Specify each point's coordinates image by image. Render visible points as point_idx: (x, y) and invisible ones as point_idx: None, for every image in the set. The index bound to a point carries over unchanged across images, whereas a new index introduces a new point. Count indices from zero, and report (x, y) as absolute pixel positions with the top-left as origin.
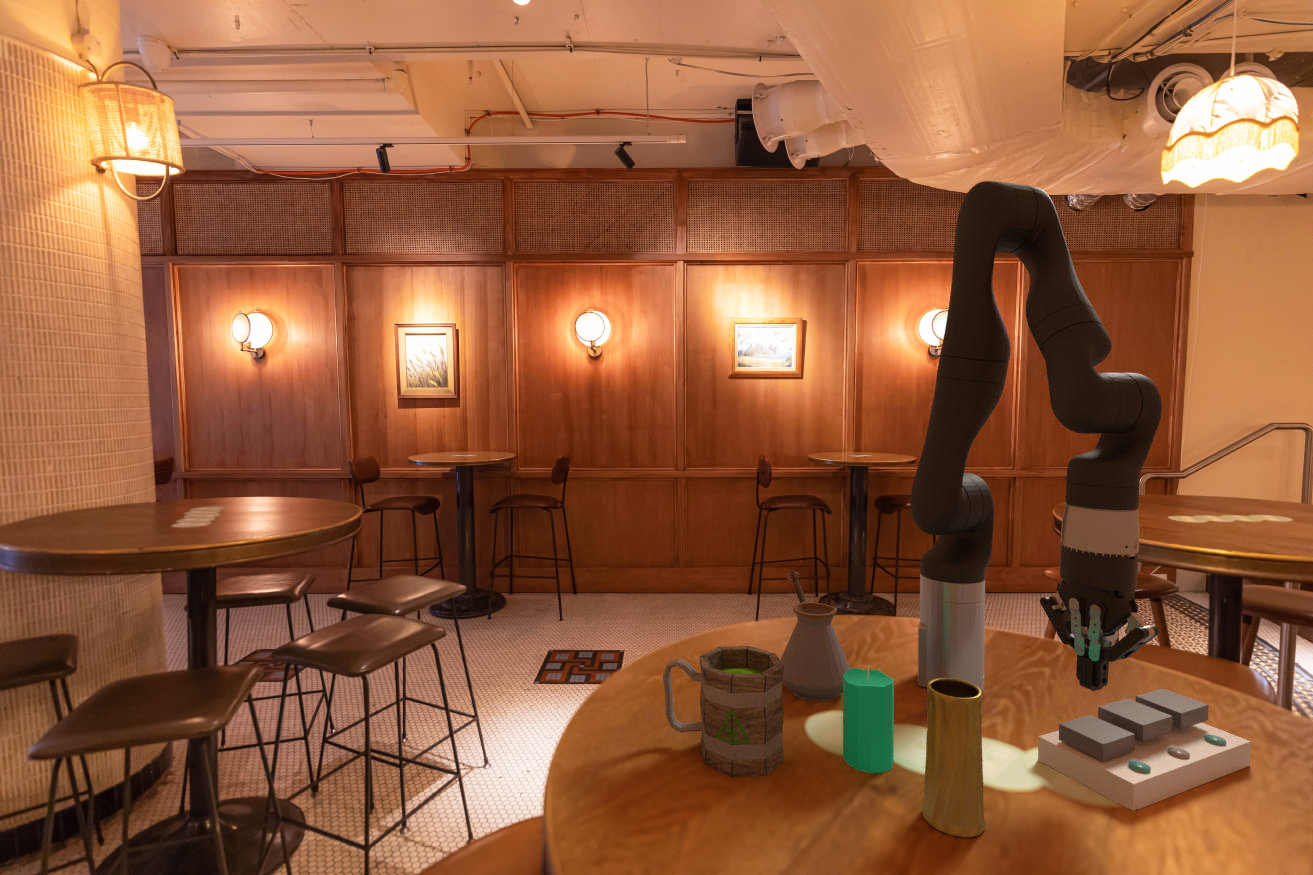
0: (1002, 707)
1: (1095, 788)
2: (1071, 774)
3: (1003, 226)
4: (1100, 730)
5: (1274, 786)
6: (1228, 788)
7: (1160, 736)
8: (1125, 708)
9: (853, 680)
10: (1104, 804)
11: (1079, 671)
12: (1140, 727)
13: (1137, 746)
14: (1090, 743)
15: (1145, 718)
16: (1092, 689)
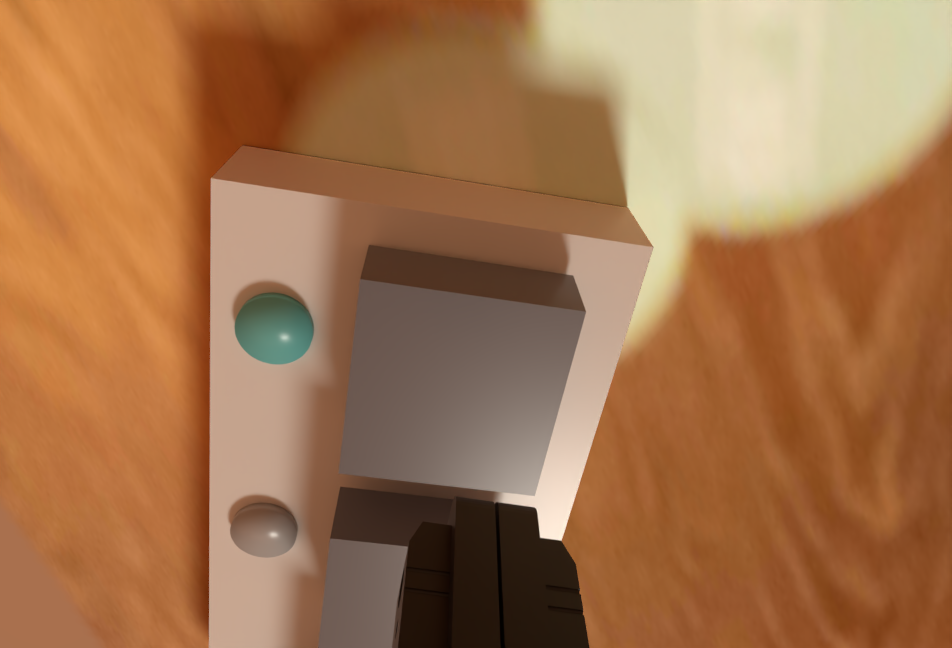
0: (875, 470)
1: (387, 171)
2: (487, 190)
3: None
4: (436, 396)
5: (140, 613)
6: (187, 521)
7: None
8: None
9: None
10: (321, 100)
11: (558, 588)
12: (342, 527)
13: None
14: (424, 277)
15: (358, 595)
16: (454, 503)
